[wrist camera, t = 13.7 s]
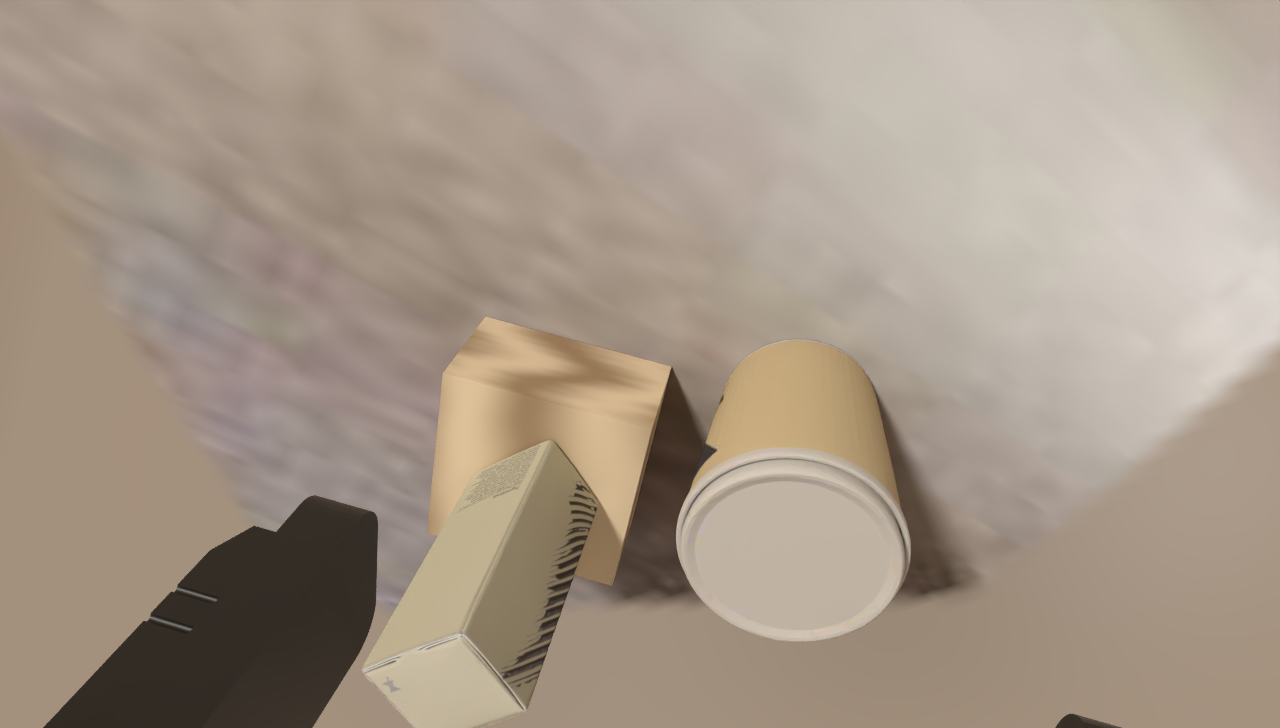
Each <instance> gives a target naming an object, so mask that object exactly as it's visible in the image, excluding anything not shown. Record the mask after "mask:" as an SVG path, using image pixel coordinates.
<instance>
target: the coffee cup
mask: <svg viewBox="0 0 1280 728" xmlns="http://www.w3.org/2000/svg"><path fill="white" fill-rule="evenodd" d="M676 545H677V552H678V556H679V560H680V562H681V565H682V568H683V570H684V572H685V574H686V577H687V579H688V581H689V583H690V585H691V586H692V588H693V589H694V591H695V592H696V594H697V595H698V596H699V598H700V599H701V600H702V601H703V602H704V603H705V604H706V605H707V606H708V607H709V608H710V609H711V610H712V611H713V612H715V613H716V614H717V615H719V616H720V617H721V618H723V619H724V620H726V621H727V622H729V623H731V624H733V625H734V626H736V627H738V628H740V629H743V630H745V631H747V632H750V633H753V634H755V635H759V636H762V637H766V638H770V639H776V640H783V641H790V642H809V641H819V640H826V639H831V638H836V637H839V636H842V635H845V634H848V633H850V632H853V631H855V630H857V629H859V628H861V627H863V626H864V625H866V624H867V623H869V622H871V621H872V620H874V619H875V618H876V617H877V616H879V615H880V614H881V613H882V612H883V611H884V610H885V609H886V608H887V606H888V605H889V604H890V603H891V601H892V600H893V599H894V597H895V595H896V594H897V592H898V591H899V590H900V588H901V586H902V584H903V582H904V580H905V578H906V575H907V573H908V569H909V565H910V557H911V540H910V534H909V530H908V526H907V522H906V520H905V517H904V514H903V512H902V510H901V506H900V501H899V496H898V491H897V486H896V482H895V477H894V472H893V468H892V463H891V459H890V455H889V450H888V446H887V441H886V437H885V432H884V428H883V424H882V419H881V415H880V410H879V406H878V402H877V399H876V395H875V392H874V389H873V386H872V384H871V381H870V380H869V378H868V376H867V374H866V373H865V371H864V370H863V369H862V367H861V366H860V365H859V364H858V363H857V362H856V361H855V360H854V359H853V358H851V357H850V356H849V355H848V354H846V353H844V352H843V351H841V350H840V349H838V348H836V347H833V346H831V345H828V344H825V343H822V342H818V341H813V340H805V339H791V340H783V341H779V342H775V343H771V344H768V345H766V346H763V347H761V348H759V349H758V350H756V351H754V352H752V353H751V354H749V355H748V356H747V357H746V358H745V359H743V360H742V361H741V362H740V363H739V364H738V366H737V367H736V368H735V369H734V371H733V372H732V374H731V376H730V378H729V380H728V382H727V384H726V386H725V389H724V392H723V394H722V397H721V399H720V402H719V405H718V408H717V411H716V414H715V417H714V420H713V423H712V426H711V429H710V431H709V434H708V437H707V440H706V443H705V446H704V449H703V452H702V455H701V458H700V461H699V464H698V467H697V470H696V473H695V476H694V479H693V482H692V486H691V489H690V492H689V494H688V495H687V497H686V499H685V501H684V503H683V506H682V508H681V511H680V514H679V517H678V522H677V528H676Z"/></svg>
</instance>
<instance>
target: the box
mask: <svg viewBox="0 0 1280 728" xmlns="http://www.w3.org/2000/svg"><path fill="white" fill-rule="evenodd" d="M598 505H599V504H598V501H597V500H596V498H595V497H594V495H593V494H592V492H591V491H590V489H589V488H588V487H587V485H586V484H585V482H584V481H583V479H582V478H581V476H580V475H579V474H578V472H577V471H576V470H575V468H574V467H573V465H572V464H571V463H570V462H569V460H568V459H567V458H566V456H565V455H564V454H563V453H562V451H561V450H560V449H559V447H558V446H557V445H556V444H555V443H554V442H553V441H551V440H548V441H545V442H543V443H540V444H538V445H535V446H533V447H530V448H528V449H526V450H524V451H522V452H519V453H517V454H515V455H513V456H511V457H508V458H506V459H504V460H502V461H500V462H498V463H496V464H493V465H491V466H489V467H487V468H485V469H483V470H481V471H479V472H477V473H475V474H474V475H473V476H472V477H471V479H470V481H469V483H468V484H467V486H466V488H465V489H464V491H463V493H462V495H461V497H460V498H459V500H458V502H457V504H456V505H455V507H454V509H453V511H452V513H451V514H450V516H449V518H448V519H447V521H446V523H445V525H444V526H443V528H442V530H441V532H440V533H439V535H438V537H437V539H436V540H435V542H434V544H433V545H432V547H431V549H430V551H429V552H428V554H427V556H426V558H425V559H424V561H423V563H422V565H421V566H420V568H419V570H418V571H417V573H416V575H415V577H414V579H413V580H412V582H411V584H410V585H409V587H408V589H407V590H406V592H405V594H404V596H403V597H402V599H401V601H400V603H399V604H398V606H397V608H396V610H395V611H394V613H393V615H392V617H391V618H390V620H389V622H388V624H387V625H386V627H385V629H384V631H383V632H382V634H381V636H380V638H379V639H378V641H377V643H376V644H375V646H374V648H373V650H372V651H371V653H370V655H369V657H368V658H367V660H366V662H365V664H364V665H363V668H362V672H363V673H364V675H365V676H366V677H367V678H368V679H369V681H370V682H371V683H373V684H374V686H375V687H376V688H377V689H378V690H379V691H380V692H381V693H382V694H383V695H384V696H385V698H387V700H388V701H389V702H390V703H391V704H392V705H393V706H394V707H395V708H396V709H397V710H398V711H399V712H400V713H401V714H402V715H403V717H404V718H405V719H406V720H407V721H408V722H409V723H410V724H411V725H412V726H413V727H414V728H482V727H485V726H488V725H491V724H494V723H497V722H500V721H503V720H506V719H508V718H511V717H514V716H517V715H519V714H522V713H524V712H526V711H527V709H528V706H529V703H530V700H531V697H532V695H533V692H534V689H535V686H536V683H537V680H538V677H539V673H540V671H541V668H542V666H543V662H544V659H545V657H546V654H547V651H548V647H549V645H550V643H551V639H552V636H553V633H554V631H555V628H556V625H557V622H558V619H559V617H560V615H561V611H562V608H563V605H564V603H565V600H566V597H567V594H568V591H569V589H570V585H571V582H572V580H573V577H574V573H575V570H576V568H577V566H578V563H579V559H580V557H581V554H582V551H583V548H584V545H585V543H586V540H587V537H588V534H589V531H590V528H591V525H592V523H593V519H594V517H595V514H596V511H597V509H598Z"/></svg>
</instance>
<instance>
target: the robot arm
mask: <svg viewBox="0 0 1280 728" xmlns="http://www.w3.org/2000/svg"><path fill="white" fill-rule="evenodd" d="M377 540H378V520H377V516H376V514H375V513H374V512H372V511H368V510H365V509H361V508H357V507H354V506H350V505H347V504H343V503H340V502H336V501H333V500H329V499H326V498H322V497H319V496H315V495H314V496H310V497H308V498H307V499H305V500H304V501H303V502H302V503H301V504H300V505H299V506H298V508H297V509H296V510H295V511H294V512H293V513H292V514H291V516H290V517H289V518H288V519H287V520H286V521H285V523H284V524H283V525H282V526H281V527H280V528H279V529H278V531H277V532H274V531H270V530H267V529H263V528H260V527H256V526H253V527H251V528H249V529H248V530H246V531H244V532H242V533H240V534H239V535H237V536H235V537H233V538H231V539H230V540H228V541H226V542H224V543H222V544H221V545H219V546H217V547H215V548H213V549H212V550H210V551H209V552H208V553H207V554H206V555H205V556H204V557H203V558H202V559H201V560H200V562H199V563H198V564H197V565H196V566H195V567H194V568H193V569H192V570H191V571H190V572H189V573H188V574H187V575H186V576H185V577H184V579H183V580H182V581H181V582H180V583H179V584H178V587H177V589H176V591H175V592H170V594H169V595H168V596H167V597H166V598H165V599H164V600H163V601H162V602H161V603H160V604H159V605H158V606H157V608H155V609H154V610H153V612H152V613H151V616H150V618H149V620H148V621H147V622H146V621H143V622H142V623H141V624H140V625H139V627H137V629H136V630H135V631H134V632H133V633H132V634H131V635H130V636H129V637H128V638H127V639H126V640H125V641H124V642H123V644H121V646H120V647H119V648H118V649H117V650H116V651H115V652H114V653H113V654H112V655H111V656H110V657H109V659H107V660H106V662H105V663H104V664H103V665H102V666H101V667H100V668H99V669H98V670H97V671H96V672H95V673H94V675H92V677H91V678H90V679H89V680H88V681H87V682H86V683H85V684H84V685H83V686H82V687H81V688H80V689H79V690H78V691H77V693H76V694H75V695H74V696H73V697H72V698H71V699H70V700H69V701H68V702H67V703H66V704H65V705H64V706H63V707H62V708H61V710H60V711H59V712H58V713H57V714H56V715H55V716H54V717H53V718H52V719H51V720H50V721H49V722H48V723H47V724H46V725H45V726H44V727H43V728H312V727H313V726H314V724H315V723H316V721H317V719H318V718H319V716H320V715H321V713H322V711H323V710H324V708H325V707H326V705H327V703H328V702H329V700H330V699H331V697H332V695H333V694H334V692H335V691H336V689H337V688H338V686H339V684H340V683H341V681H342V680H343V678H344V676H345V675H346V673H347V671H348V670H349V669H350V667H351V665H352V664H353V662H354V661H355V659H356V657H357V656H358V654H359V652H360V650H361V648H362V646H363V644H364V642H365V640H366V637H367V635H368V632H369V629H370V626H371V623H372V619H373V616H374V611H375V605H376V578H377ZM1056 728H1121V727H1117V726H1113V725H1110V724H1107V723H1103V722H1099V721H1096V720H1093V719H1089V718H1086V717H1082V716H1079V715H1075V714H1069V715H1066V716H1065V717H1064V718H1062V719H1061V720H1060V722H1059V723H1058V725H1057V726H1056Z"/></svg>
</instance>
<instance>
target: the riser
mask: <svg viewBox="0 0 1280 728" xmlns="http://www.w3.org/2000/svg"><path fill="white" fill-rule="evenodd" d="M670 371H671V366H667V365H663V364H659V363H656V362H652V361H648V360H645V359H641V358H637V357H633V356H630V355H626V354H622V353H619V352H615V351H611V350H607V349H604V348H600V347H596V346H593V345H589V344H585V343H581V342H578V341H574V340H570V339H567V338H563V337H559V336H555V335H552V334H548V333H544V332H541V331H537V330H533V329H529V328H526V327H522V326H518V325H515V324H511V323H507V322H503V321H500V320H496V319H492V318H489V317H485V318H484V320H483V321H482V322H481V324H480V325H479V326H478V328H477V329H476V330H475V332H474V333H473V334H472V336H471V337H470V338H469V340H468V341H467V342H466V343H465V345H464V346H463V347H462V349H461V350H460V351H459V353H458V354H457V355H456V357H455V358H454V359H453V361H452V362H451V363H450V365H449V366H448V367H447V369H446V370H445V371H444V372H443V379H442V389H441V399H440V409H439V419H438V429H437V439H436V449H435V459H434V469H433V479H432V489H431V499H430V509H429V519H428V529H427V534H431V535H434V536H438V535H439V533H440V532H441V530H442V528H443V526H444V525H445V523H446V521H447V519H448V518H449V516H450V514H451V513H452V511H453V509H454V507H455V505H456V504H457V502H458V500H459V498H460V497H461V495H462V493H463V491H464V489H465V488H466V486H467V484H468V483H469V481H470V479H471V477H472V476H473V475H474V474H475V473H477V472H479V471H481V470H483V469H485V468H487V467H489V466H491V465H493V464H496V463H498V462H500V461H502V460H504V459H506V458H508V457H511V456H513V455H515V454H517V453H519V452H522V451H524V450H526V449H528V448H530V447H533V446H535V445H538V444H540V443H543V442H545V441H548V440H551V441H553V442H554V443H555V444H556V445H557V446H558V447H559V449H560V450H561V451H562V453H563V454H564V455H565V456H566V458H567V459H568V460H569V462H570V463H571V464H572V465H573V467H574V468H575V470H576V471H577V472H578V474H579V475H580V476H581V478H582V479H583V481H584V482H585V484H586V485H587V487H588V488H589V489H590V491H591V492H592V494H593V495H594V497H595V498H596V500H597V501H598V504H599V505H598V509H597V511H596V514H595V517H594V519H593V523H592V525H591V528H590V531H589V534H588V537H587V540H586V543H585V545H584V548H583V551H582V554H581V557H580V559H579V563H578V566H577V568H576V570H575V573H574V575H575V576H578V577H582V578H585V579H589V580H592V581H596V582H599V583H603V584H606V585H610V586H613V582H614V579H615V576H616V572H617V569H618V566H619V562H620V559H621V556H622V552H623V549H624V546H625V542H626V539H627V536H628V532H629V529H630V526H631V522H632V519H633V516H634V512H635V508H636V504H637V500H638V497H639V493H640V489H641V485H642V481H643V477H644V473H645V469H646V465H647V461H648V457H649V453H650V449H651V445H652V441H653V438H654V434H655V430H656V426H657V422H658V418H659V414H660V410H661V406H662V402H663V398H664V394H665V390H666V386H667V383H668V379H669V375H670Z"/></svg>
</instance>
